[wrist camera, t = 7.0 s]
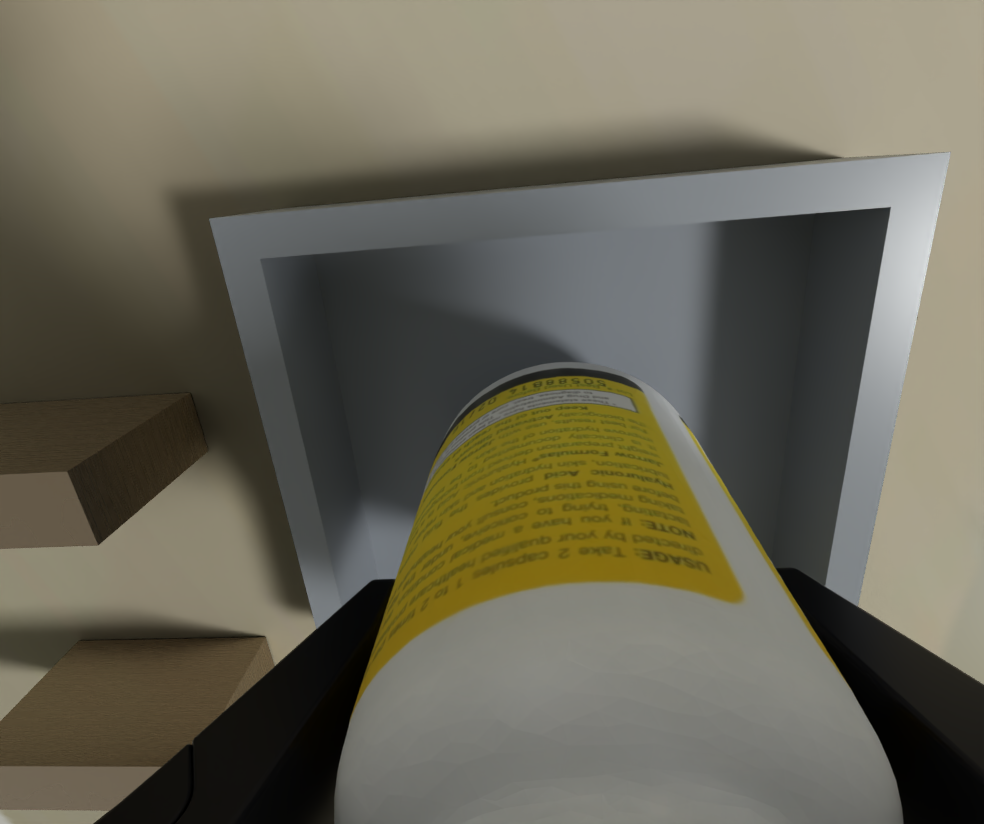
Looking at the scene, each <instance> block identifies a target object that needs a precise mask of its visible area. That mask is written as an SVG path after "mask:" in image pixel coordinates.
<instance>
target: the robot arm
mask: <svg viewBox="0 0 984 824" xmlns="http://www.w3.org/2000/svg"><path fill="white" fill-rule="evenodd" d="M775 569H776V570H777V572H778V574H779V575H780V576H781V578H782V580H783V582H784V583H785V585H786V587H787V588H788V590H789V591H790V593H791V595H792V596H793V598H794V599H795V601H796V603H797V604H798V605H799V607H800V608H801V610H802V612H803V613H804V615H805V617H806V618H807V620H808V622H809V623H810V625H811V627H812V628H813V630H814V631H815V633H816V634H817V636H818V637H819V639H820V640H821V642H822V644H823V645H824V647H825V648H826V650H827V652H828V653H829V655H830V656H831V658H832V660H833V661H834V663H835V664H836V666H837V668H838V669H839V671H840V672H841V674H842V676H843V677H844V679H845V680H846V682H847V684H848V685H849V687H850V688H851V690H852V692H853V694H854V696H855V697H856V699H857V701H858V703H859V705H860V706H861V708H862V710H863V712H864V713H865V715H866V717H867V718H868V720H869V722H870V724H871V725H872V727H873V729H874V731H875V732H876V734H877V736H878V738H879V740H880V742H881V745H882V747H883V749H884V751H885V754H886V756H887V758H888V760H889V763H890V765H891V768H892V771H893V774H894V776H895V779H896V783H897V787H898V792H899V796H900V800H901V805H902V813H903V823H904V824H984V685H983V684H982V683H980V682H979V681H977V680H975V679H974V678H972V677H971V676H969V675H967V674H966V673H964V672H962V671H961V670H959V669H958V668H956V667H954V666H953V665H951V664H950V663H948V662H946V661H945V660H943V659H942V658H940V657H938V656H937V655H935V654H934V653H932V652H930V651H929V650H927V649H925V648H924V647H922V646H921V645H919V644H917V643H916V642H914V641H913V640H911V639H909V638H908V637H906V636H905V635H903V634H901V633H900V632H898V631H896V630H895V629H893V628H892V627H890V626H888V625H887V624H885V623H884V622H882V621H880V620H879V619H877V618H876V617H874V616H872V615H871V614H869V613H867V612H866V611H864V610H863V609H861V608H859V607H858V606H856V605H855V604H853V603H851V602H850V601H848V600H847V599H845V598H843V597H842V596H840V595H838V594H837V593H835V592H834V591H832V590H830V589H829V588H827V587H826V586H824V585H822V584H821V583H819V582H818V581H816V580H814V579H813V578H811V577H809V576H808V575H806V574H805V573H803V572H801V571H800V570H798V569H796V568H792V567H784V568H775ZM395 580H396V579H375V580H372V581H370V582H369V583H368V584H367V585H365V586H364V587H363V588H362V589H361V590H360V591H359V592H358V593H356V594H355V595H354V596H353V597H352V598H351V599H350V600H349V601H347V602H346V603H345V604H344V605H343V606H342V607H341V608H340V609H338V610H337V611H336V612H335V613H334V614H333V615H332V616H331V617H329V618H328V619H327V620H326V621H325V622H324V623H323V624H322V625H320V626H319V627H318V628H317V629H316V630H315V631H314V632H313V633H311V634H310V635H309V636H308V637H307V638H306V639H305V640H304V641H302V642H301V643H300V644H299V645H298V646H297V647H296V648H295V649H294V650H292V651H291V652H290V653H289V654H288V655H287V656H286V657H285V658H283V659H282V660H281V661H280V662H279V663H278V664H277V665H276V666H274V667H273V668H272V669H271V670H270V671H269V672H268V673H267V674H265V675H264V676H263V677H262V678H261V679H260V680H259V681H258V682H256V683H255V684H254V685H253V686H252V687H251V688H250V689H249V690H247V691H246V692H245V693H244V694H243V695H242V696H241V697H240V698H238V699H237V700H236V701H235V702H234V703H233V704H232V705H231V706H229V707H228V708H227V709H226V710H225V711H224V712H223V713H222V714H220V715H219V716H218V717H217V718H216V719H215V720H214V721H213V722H211V723H210V724H209V725H208V726H207V727H206V728H205V729H204V730H202V731H201V732H200V733H199V734H198V735H197V736H196V737H195V738H194V739H193V740H192V745H191V744H187V745H185V746H184V747H183V748H182V749H181V750H180V751H179V752H177V753H176V754H175V755H174V756H173V757H172V758H171V759H170V760H168V761H167V762H166V763H165V764H164V765H163V766H162V767H161V768H159V769H158V770H157V771H156V772H155V773H154V774H152V775H151V776H150V777H149V778H148V779H147V780H145V781H144V782H143V783H142V784H141V785H140V786H138V787H137V788H136V789H135V790H134V791H133V792H131V793H130V794H129V795H128V796H127V797H126V798H124V799H123V800H122V801H121V802H120V803H119V804H117V805H116V806H115V807H114V808H112V809H111V810H110V811H109V812H107V813H106V814H105V815H104V816H102V817H101V818H100V819H99V820H97V821H96V822H95V823H94V824H334V795H335V788H336V779H337V772H338V766H339V762H340V758H341V753H342V749H343V745H344V742H345V738H346V735H347V731H348V727H349V722H350V718H351V715H352V712H353V709H354V705H355V702H356V699H357V696H358V693H359V690H360V687H361V684H362V681H363V678H364V675H365V672H366V669H367V666H368V663H369V660H370V656H371V653H372V650H373V647H374V644H375V641H376V638H377V635H378V632H379V629H380V626H381V623H382V620H383V617H384V613H385V610H386V607H387V604H388V601H389V598H390V595H391V592H392V589H393V586H394V583H395Z"/></svg>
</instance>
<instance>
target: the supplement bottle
mask: <svg viewBox="0 0 984 824" xmlns="http://www.w3.org/2000/svg"><path fill="white" fill-rule="evenodd" d="M334 824H904V823H903V813H902V805H901V800H900V796H899V792H898V787H897V783H896V779H895V776H894V774H893V771H892V768H891V765H890V763H889V760H888V758H887V756H886V754H885V751H884V749H883V747H882V745H881V742H880V740H879V738H878V736H877V734H876V732H875V731H874V729H873V727H872V725H871V724H870V722H869V720H868V718H867V717H866V715H865V713H864V712H863V710H862V708H861V706H860V705H859V703H858V701H857V699H856V697H855V696H854V694H853V692H852V690H851V688H850V687H849V685H848V684H847V682H846V680H845V679H844V677H843V676H842V674H841V672H840V671H839V669H838V668H837V666H836V664H835V663H834V661H833V660H832V658H831V656H830V655H829V653H828V652H827V650H826V648H825V647H824V645H823V644H822V642H821V640H820V639H819V637H818V636H817V634H816V633H815V631H814V630H813V628H812V627H811V625H810V623H809V622H808V620H807V618H806V617H805V615H804V613H803V612H802V610H801V608H800V607H799V605H798V604H797V603H796V601H795V599H794V598H793V596H792V595H791V593H790V591H789V590H788V588H787V587H786V585H785V583H784V582H783V580H782V578H781V576H780V575H779V574H778V572H777V570H776V569H775V567H774V565H773V563H772V562H771V560H770V559H769V557H768V556H767V554H766V552H765V550H764V549H763V547H762V545H761V544H760V542H759V540H758V539H757V537H756V536H755V534H754V533H753V531H752V529H751V527H750V526H749V524H748V522H747V521H746V519H745V517H744V516H743V514H742V512H741V511H740V509H739V507H738V506H737V504H736V503H735V501H734V500H733V498H732V497H731V495H730V494H729V492H728V490H727V488H726V486H725V485H724V483H723V481H722V480H721V478H720V476H719V475H718V474H717V472H716V470H715V469H714V467H713V465H712V464H711V462H710V461H709V459H708V457H707V456H706V454H705V452H704V451H703V449H702V447H701V446H700V444H699V442H698V441H697V439H696V438H695V436H694V435H693V433H692V432H691V430H690V429H689V427H688V426H687V424H686V423H685V422H684V420H683V419H682V417H681V416H680V415H679V413H678V412H677V411H676V410H675V409H674V407H673V406H672V405H671V404H670V403H669V402H668V401H667V400H666V399H665V398H664V397H663V396H662V395H661V394H659V393H658V392H657V391H656V390H654V389H653V388H652V387H650V386H649V385H647V384H645V383H644V382H642V381H641V380H639V379H637V378H635V377H633V376H631V375H628V374H626V373H624V372H621V371H619V370H616V369H612V368H609V367H605V366H601V365H596V364H589V363H581V362H556V363H547V364H541V365H537V366H533V367H529V368H525V369H522V370H520V371H517V372H514V373H512V374H510V375H508V376H506V377H504V378H502V379H500V380H498V381H496V382H494V383H493V384H491V385H489V386H488V387H487V388H485V389H484V390H482V391H481V392H480V393H479V394H477V395H476V396H475V397H474V398H473V399H472V400H471V401H470V402H469V403H468V404H467V405H466V406H465V407H464V408H463V409H462V410H461V411H460V413H459V414H458V415H457V417H456V418H455V420H454V421H453V423H452V424H451V426H450V428H449V429H448V431H447V433H446V435H445V437H444V439H443V441H442V443H441V445H440V447H439V450H438V452H437V454H436V457H435V459H434V462H433V465H432V468H431V471H430V473H429V477H428V480H427V483H426V486H425V489H424V493H423V496H422V499H421V502H420V505H419V508H418V511H417V514H416V517H415V520H414V524H413V527H412V530H411V533H410V536H409V539H408V542H407V545H406V549H405V552H404V555H403V558H402V561H401V564H400V567H399V570H398V574H397V577H396V580H395V583H394V586H393V589H392V592H391V595H390V598H389V601H388V604H387V607H386V610H385V613H384V617H383V620H382V623H381V626H380V629H379V632H378V635H377V638H376V641H375V644H374V647H373V650H372V653H371V656H370V660H369V663H368V666H367V669H366V672H365V675H364V678H363V681H362V684H361V687H360V690H359V693H358V696H357V699H356V702H355V705H354V709H353V712H352V715H351V718H350V722H349V727H348V731H347V735H346V738H345V742H344V745H343V749H342V753H341V758H340V762H339V766H338V772H337V779H336V788H335V795H334Z"/></svg>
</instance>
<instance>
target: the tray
mask: <svg viewBox="0 0 984 824" xmlns="http://www.w3.org/2000/svg"><path fill="white" fill-rule="evenodd" d="M950 153H951V152H941V153H922V154H904V155H886V156H867V157H849V158H836V159H825V160H814V161H803V162H792V163H781V164H770V165H759V166H748V167H737V168H726V169H714V170H703V171H692V172H681V173H670V174H659V175H648V176H637V177H626V178H615V179H604V180H592V181H581V182H570V183H559V184H548V185H537V186H526V187H515V188H504V189H493V190H482V191H471V192H459V193H448V194H437V195H426V196H415V197H404V198H393V199H382V200H371V201H360V202H349V203H338V204H326V205H315V206H304V207H293V208H282V209H275V210H268V211H260V212H253V213H245V214H238V215H231V216H223V217H216V218H209V221H210V225H211V228H212V232H213V236H214V240H215V244H216V247H217V251H218V255H219V259H220V263H221V267H222V270H223V274H224V278H225V282H226V286H227V289H228V293H229V297H230V301H231V305H232V309H233V312H234V316H235V320H236V324H237V328H238V331H239V335H240V339H241V343H242V347H243V351H244V354H245V358H246V362H247V366H248V370H249V373H250V377H251V381H252V385H253V389H254V393H255V396H256V400H257V404H258V408H259V412H260V415H261V419H262V423H263V427H264V431H265V434H266V438H267V442H268V446H269V450H270V454H271V457H272V461H273V465H274V469H275V473H276V476H277V480H278V484H279V488H280V492H281V496H282V499H283V503H284V507H285V511H286V515H287V518H288V522H289V526H290V530H291V534H292V538H293V541H294V545H295V549H296V553H297V557H298V560H299V564H300V568H301V572H302V576H303V580H304V583H305V587H306V591H307V595H308V599H309V602H310V606H311V610H312V614H313V618H314V621H315V625H316V629H317V628H318V627H319V626H320V625H322V624H323V623H324V622H325V621H326V620H327V619H328V618H329V617H331V616H332V615H333V614H334V613H335V612H336V611H337V610H338V609H340V608H341V607H342V606H343V605H344V604H345V603H346V602H347V601H349V600H350V599H351V598H352V597H353V596H354V595H355V594H356V593H358V592H359V591H360V590H361V589H362V588H363V587H364V586H365V585H367V584H368V583H369V582H370V581H372V580H375V579H396V577H397V574H398V570H399V567H400V564H401V561H402V558H403V555H404V552H405V549H406V545H407V542H408V539H409V536H410V533H411V530H412V527H413V524H414V520H415V517H416V514H417V511H418V508H419V505H420V502H421V499H422V496H423V493H424V489H425V486H426V483H427V480H428V477H429V473H430V471H431V468H432V465H433V462H434V459H435V457H436V454H437V452H438V450H439V447H440V445H441V443H442V441H443V439H444V437H445V435H446V433H447V431H448V429H449V428H450V426H451V424H452V423H453V421H454V420H455V418H456V417H457V415H458V414H459V413H460V411H461V410H462V409H463V408H464V407H465V406H466V405H467V404H468V403H469V402H470V401H471V400H472V399H473V398H474V397H475V396H476V395H477V394H479V393H480V392H481V391H482V390H484V389H485V388H487V387H488V386H489V385H491V384H493V383H494V382H496V381H498V380H500V379H502V378H504V377H506V376H508V375H510V374H512V373H514V372H517V371H520V370H522V369H525V368H529V367H533V366H537V365H541V364H547V363H556V362H581V363H589V364H596V365H601V366H605V367H609V368H612V369H616V370H619V371H621V372H624V373H626V374H628V375H631V376H633V377H635V378H637V379H639V380H641V381H642V382H644V383H645V384H647V385H649V386H650V387H652V388H653V389H654V390H656V391H657V392H658V393H659V394H661V395H662V396H663V397H664V398H665V399H666V400H667V401H668V402H669V403H670V404H671V405H672V406H673V407H674V409H675V410H676V411H677V412H678V413H679V415H680V416H681V417H682V419H683V420H684V422H685V423H686V424H687V426H688V427H689V429H690V430H691V432H692V433H693V435H694V436H695V438H696V439H697V441H698V442H699V444H700V446H701V447H702V449H703V451H704V452H705V454H706V456H707V457H708V459H709V461H710V462H711V464H712V465H713V467H714V469H715V470H716V472H717V474H718V475H719V476H720V478H721V480H722V481H723V483H724V485H725V486H726V488H727V490H728V492H729V494H730V495H731V497H732V498H733V500H734V501H735V503H736V504H737V506H738V507H739V509H740V511H741V512H742V514H743V516H744V517H745V519H746V521H747V522H748V524H749V526H750V527H751V529H752V531H753V533H754V534H755V536H756V537H757V539H758V540H759V542H760V544H761V545H762V547H763V549H764V550H765V552H766V554H767V556H768V557H769V559H770V560H771V562H772V563H773V565H774V567H775V568H784V567H792V568H796V569H798V570H800V571H801V572H803V573H805V574H806V575H808V576H809V577H811V578H813V579H814V580H816V581H818V582H819V583H821V584H822V585H824V586H826V587H827V588H829V589H830V590H832V591H834V592H835V593H837V594H838V595H840V596H842V597H843V598H845V599H847V600H848V601H850V602H851V603H853V604H855V605H856V606H858V603H859V598H860V593H861V588H862V583H863V578H864V574H865V569H866V564H867V559H868V554H869V549H870V544H871V539H872V534H873V530H874V525H875V520H876V515H877V510H878V505H879V500H880V495H881V491H882V486H883V481H884V476H885V471H886V466H887V461H888V456H889V451H890V447H891V442H892V437H893V432H894V427H895V422H896V417H897V412H898V407H899V403H900V398H901V393H902V388H903V383H904V378H905V373H906V368H907V364H908V359H909V354H910V349H911V344H912V339H913V334H914V329H915V324H916V320H917V315H918V310H919V305H920V300H921V295H922V290H923V285H924V280H925V276H926V271H927V266H928V261H929V256H930V251H931V246H932V241H933V237H934V232H935V227H936V222H937V217H938V212H939V207H940V202H941V197H942V193H943V188H944V183H945V178H946V173H947V168H948V163H949V158H950Z"/></svg>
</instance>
